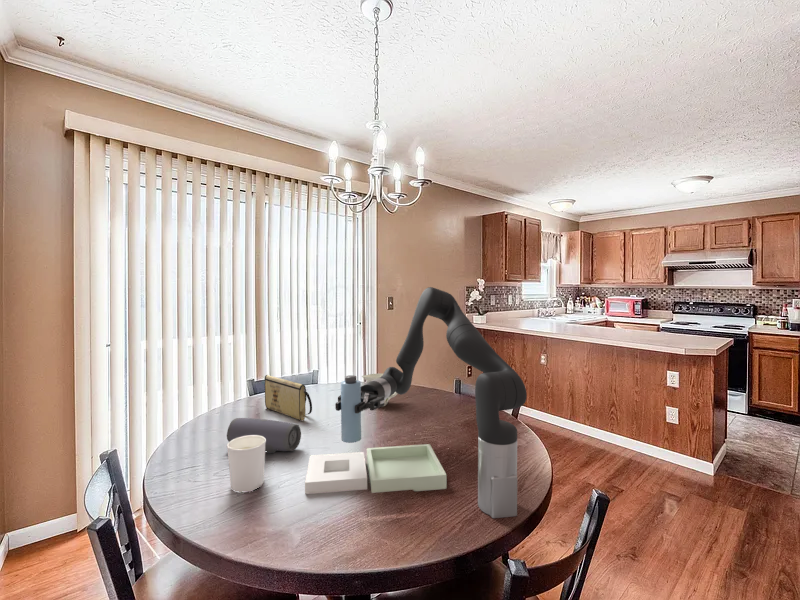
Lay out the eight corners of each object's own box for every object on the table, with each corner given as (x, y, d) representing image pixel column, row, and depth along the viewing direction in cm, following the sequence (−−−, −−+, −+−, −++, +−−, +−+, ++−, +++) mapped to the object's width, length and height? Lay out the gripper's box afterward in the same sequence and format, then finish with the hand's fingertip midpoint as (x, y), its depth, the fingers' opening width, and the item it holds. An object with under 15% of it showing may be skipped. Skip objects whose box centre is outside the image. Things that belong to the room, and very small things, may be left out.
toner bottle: (361, 442, 105) (361, 378, 105) (341, 443, 105) (340, 379, 104) (360, 434, 111) (359, 374, 110) (341, 435, 110) (340, 374, 109)
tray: (446, 488, 102) (446, 474, 102) (371, 495, 99) (371, 480, 99) (429, 455, 122) (429, 444, 122) (366, 460, 119) (366, 448, 119)
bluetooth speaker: (302, 447, 128) (302, 418, 128) (287, 460, 120) (286, 428, 119) (244, 440, 135) (243, 412, 134) (225, 451, 126) (225, 421, 125)
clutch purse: (316, 418, 157) (316, 382, 156) (302, 423, 152) (302, 385, 151) (275, 404, 176) (275, 371, 175) (261, 408, 170) (261, 374, 170)
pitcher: (403, 405, 173) (403, 375, 173) (365, 410, 167) (365, 379, 166) (395, 399, 183) (395, 370, 183) (358, 403, 177) (358, 373, 176)
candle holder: (254, 473, 111) (254, 432, 111) (273, 484, 105) (273, 440, 105) (221, 486, 104) (220, 443, 103) (239, 499, 97) (238, 453, 97)
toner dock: (367, 491, 101) (367, 477, 101) (305, 496, 99) (304, 482, 99) (363, 463, 117) (363, 451, 117) (310, 467, 115) (310, 455, 114)
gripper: (354, 378, 123) (324, 392, 108) (395, 382, 117) (369, 397, 102) (355, 401, 123) (324, 418, 108) (395, 407, 118) (369, 425, 102)
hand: (346, 408), depth 105 cm, fingers closed on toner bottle, 5 cm apart
